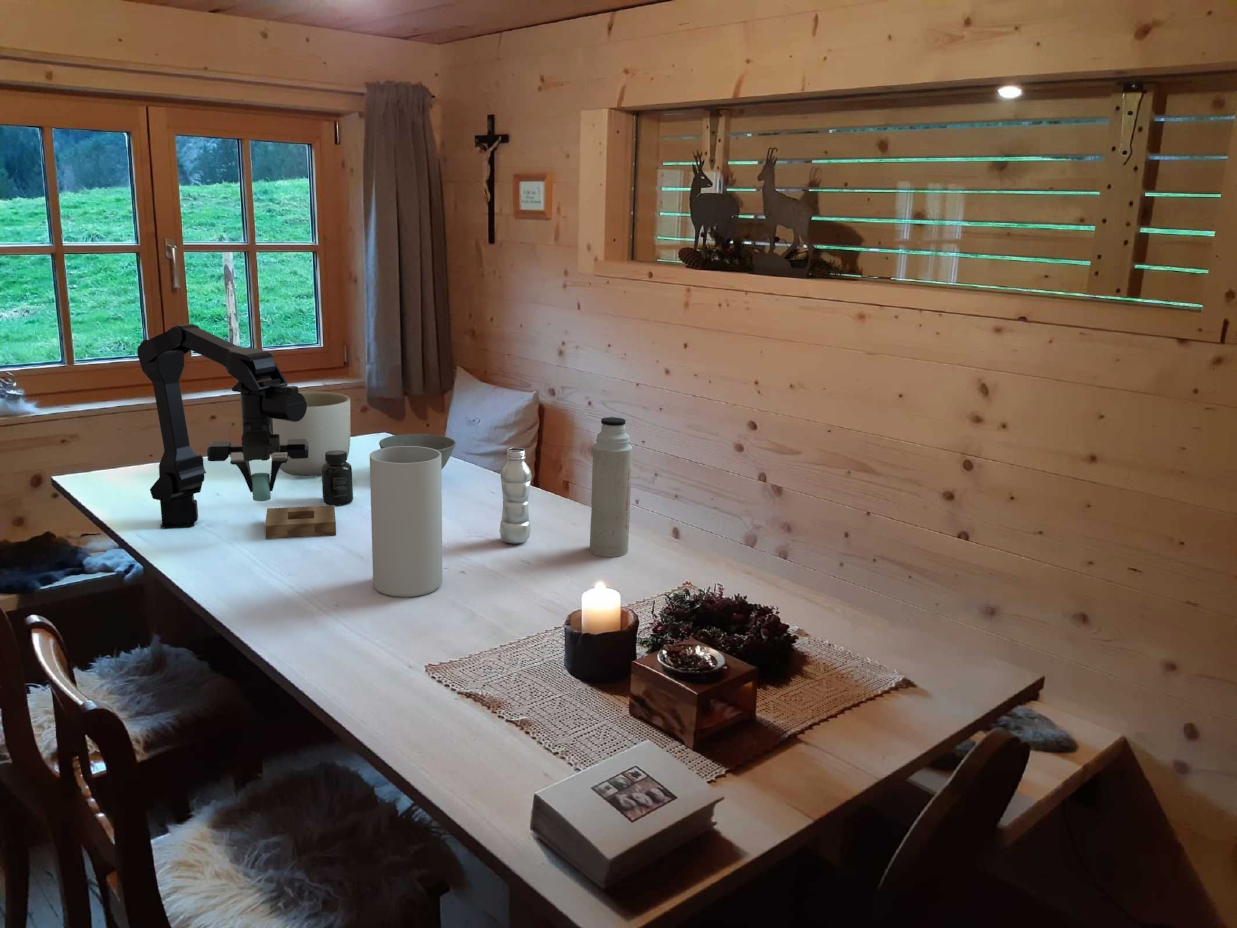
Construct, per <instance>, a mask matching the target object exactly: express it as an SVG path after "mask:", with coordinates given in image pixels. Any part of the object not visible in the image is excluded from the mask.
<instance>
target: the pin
mask: <svg viewBox="0 0 1237 928" xmlns="http://www.w3.org/2000/svg"><path fill="white" fill-rule="evenodd" d="M251 476H252V491H253V492H252V500H253V501H255V502H266V501H269V500H271V499H272V496H271V494H272V493H271V491H270V477H271V473H268V472H257V473H256V472H255V473H251Z"/></svg>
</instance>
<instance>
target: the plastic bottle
mask: <svg viewBox="0 0 1237 928" xmlns="http://www.w3.org/2000/svg"><path fill="white" fill-rule="evenodd" d="M506 452H507V453H506V459H507V462H506V463H505V464H504V465H503V468H502V469H501V472H500V484H501V489H502V511H501V519H500V520H501V521H500V524H499V534H500V535H499V536H500V538H501V540H502V542H504V543H508V544H521V543H525V542H527V541H528V540H529V538H530V537H531V536H530V535H531V532H532V531H531V530H532V529H531V522H530V516H529V515H530V514H529V495H530V487H531V483H532V471H531V469H530V467H529V465H528V463H527V462H525V460H526V450H525V448H521V447H510V448H507V450H506Z"/></svg>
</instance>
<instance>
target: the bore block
mask: <svg viewBox="0 0 1237 928" xmlns="http://www.w3.org/2000/svg"><path fill="white" fill-rule="evenodd" d="M264 521H265V523H264V532H265V533H264V534H265V537H264V538H265V540H279V539H283V540H284V539H295V538H296V539H297V538H298V539H300V538H311V537H312V538H313V537H317V538H318V537H329V536H333V537H334V536H337V523H336V508H335V506H334V505H327V504H325V505H310V506H309V505H308V506H291V507H289V506H287V507H269V508H267V509H266V514H265V520H264Z"/></svg>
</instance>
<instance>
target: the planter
mask: <svg viewBox="0 0 1237 928" xmlns="http://www.w3.org/2000/svg"><path fill="white" fill-rule="evenodd" d="M298 393H300V394H302V395H303V396H304V398H305V401H306V402H307V410H306V413H305V415H304V417H303V418H302V419H301V420H300V421H298V422H292V421H286V420H280V419H273V433H274V434H279V437H280V444H287V443H288V439H306V440H307V441H308V444H309V455H308V458H304V459H291V458H290V457H289V456H288V461H287V462H286V463H282V464H281V466H280V468H279V470H281V471H282V472H283V473H286V474H287V475H291V476H296V477H318V476H319V477H320V476H322V472H321V468H322V466H323V465H324V464H325V463H326V461H325V453H326V452H328V451H333V450H342V451H346V452H347V458H348V457H349V454H350V449H351V448H350V447H351V398H350V396H348V395H345V394H343V393H340V392H339V393H338V392H330V391H314V390H313V391H311V390H309V391H298ZM272 458H273V454H270V459H272Z"/></svg>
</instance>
